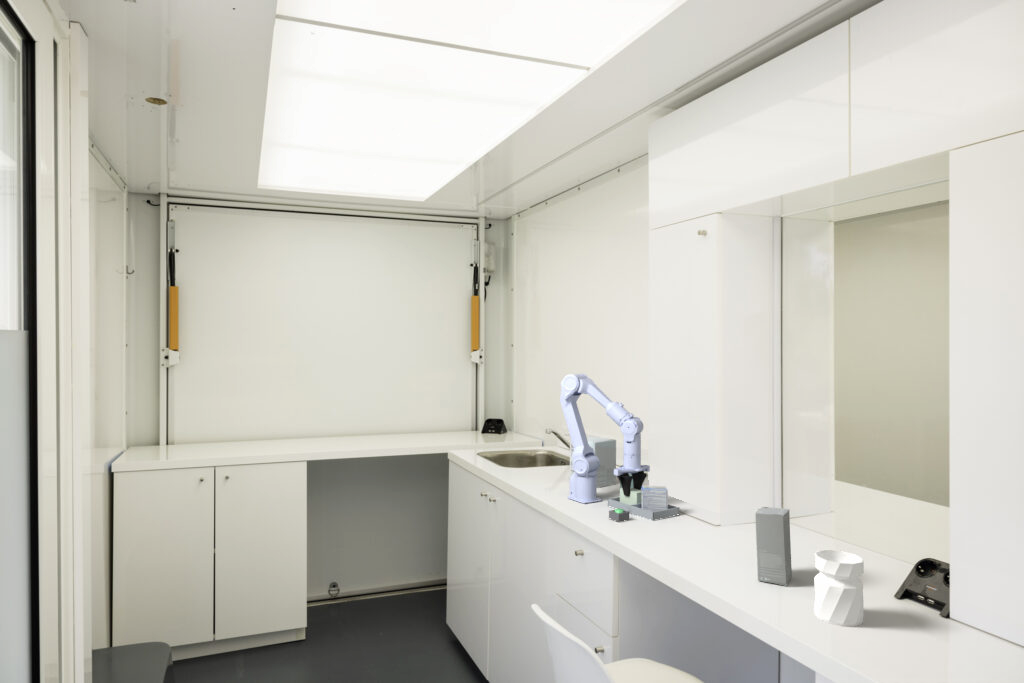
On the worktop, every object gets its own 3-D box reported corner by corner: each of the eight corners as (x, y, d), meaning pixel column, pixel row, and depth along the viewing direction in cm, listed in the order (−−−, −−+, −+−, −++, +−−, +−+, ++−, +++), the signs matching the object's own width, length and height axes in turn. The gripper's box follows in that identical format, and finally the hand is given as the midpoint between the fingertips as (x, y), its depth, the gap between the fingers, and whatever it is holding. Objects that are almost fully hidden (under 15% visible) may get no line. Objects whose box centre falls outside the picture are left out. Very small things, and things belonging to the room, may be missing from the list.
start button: (613, 518, 197) (613, 509, 197) (619, 517, 199) (619, 508, 199) (618, 520, 195) (618, 511, 195) (625, 519, 197) (625, 510, 197)
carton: (619, 506, 214) (619, 488, 214) (628, 504, 216) (628, 486, 216) (636, 511, 208) (636, 492, 208) (645, 509, 210) (645, 491, 210)
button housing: (608, 518, 198) (609, 510, 198) (619, 516, 200) (619, 508, 200) (618, 522, 194) (618, 513, 194) (629, 520, 196) (629, 512, 196)
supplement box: (590, 478, 258) (591, 435, 259) (616, 484, 249) (617, 439, 249) (568, 483, 249) (569, 438, 250) (594, 489, 240) (595, 442, 240)
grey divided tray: (607, 506, 213) (607, 498, 213) (633, 501, 220) (633, 494, 220) (652, 520, 196) (652, 512, 196) (679, 515, 203) (679, 507, 203)
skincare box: (787, 587, 142) (787, 516, 142) (753, 580, 146) (753, 511, 146) (793, 576, 149) (793, 508, 149) (760, 570, 153) (761, 504, 153)
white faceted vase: (827, 626, 122) (827, 563, 122) (806, 608, 131) (806, 549, 131) (872, 627, 122) (873, 564, 122) (848, 608, 131) (848, 549, 131)
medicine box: (665, 513, 205) (666, 486, 206) (667, 516, 201) (668, 489, 201) (641, 512, 206) (641, 485, 206) (642, 515, 202) (642, 488, 202)
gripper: (624, 457, 205) (624, 500, 205) (656, 453, 213) (656, 494, 213) (609, 454, 211) (609, 495, 211) (641, 451, 219) (641, 490, 219)
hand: (631, 494), depth 212 cm, fingers closed on carton, 4 cm apart
